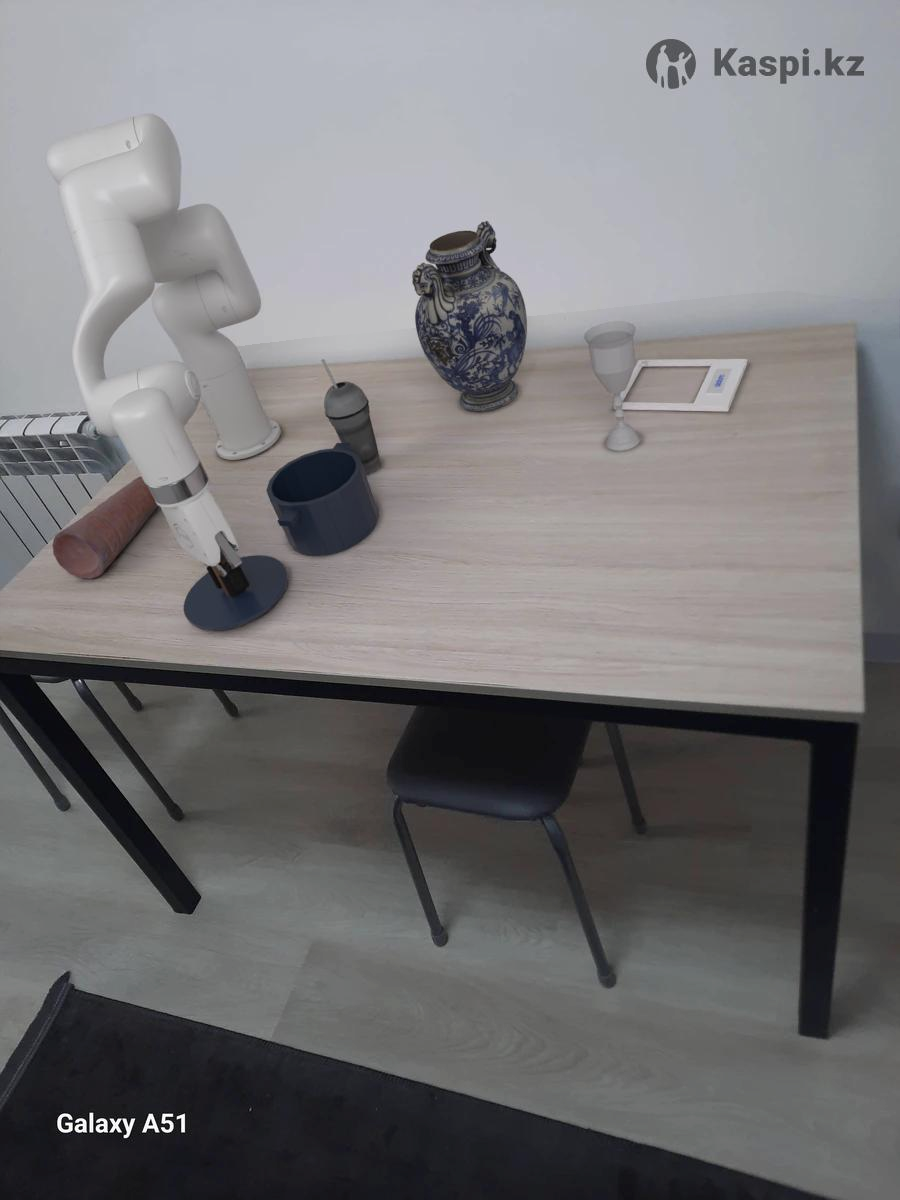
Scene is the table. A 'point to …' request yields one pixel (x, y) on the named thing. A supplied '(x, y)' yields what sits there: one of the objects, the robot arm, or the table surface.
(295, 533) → the pot
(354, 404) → the beverage cup
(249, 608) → the lid
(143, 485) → the food
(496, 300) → the decorative vase
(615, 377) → the chalice
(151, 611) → the table surface
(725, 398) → the photo frame
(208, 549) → the robot arm
